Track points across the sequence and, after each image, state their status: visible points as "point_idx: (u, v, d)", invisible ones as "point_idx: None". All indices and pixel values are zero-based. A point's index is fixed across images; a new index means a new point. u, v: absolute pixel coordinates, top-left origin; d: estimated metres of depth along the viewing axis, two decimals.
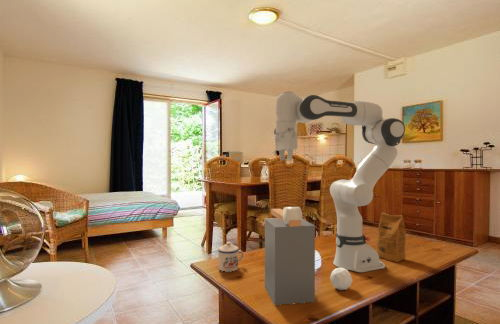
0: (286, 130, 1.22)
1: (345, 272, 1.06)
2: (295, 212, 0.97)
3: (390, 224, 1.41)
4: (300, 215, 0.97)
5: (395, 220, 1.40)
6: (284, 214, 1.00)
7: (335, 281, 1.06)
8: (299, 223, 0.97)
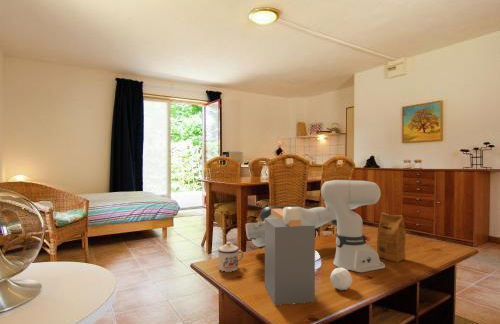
0: None
1: (345, 272, 1.06)
2: (295, 212, 0.97)
3: (390, 224, 1.41)
4: (300, 215, 0.97)
5: (395, 220, 1.40)
6: (284, 214, 1.00)
7: (335, 281, 1.06)
8: (299, 223, 0.97)
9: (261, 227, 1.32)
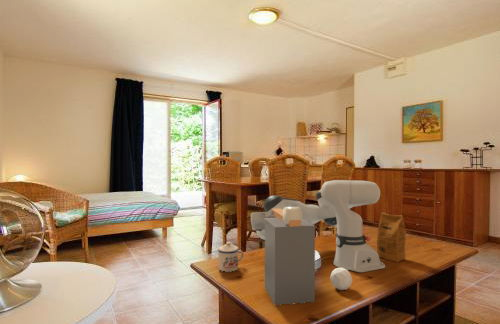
0: None
1: (345, 272, 1.06)
2: (295, 212, 0.97)
3: (390, 224, 1.41)
4: (300, 215, 0.97)
5: (395, 220, 1.40)
6: (284, 214, 1.00)
7: (335, 281, 1.06)
8: (299, 223, 0.97)
9: None
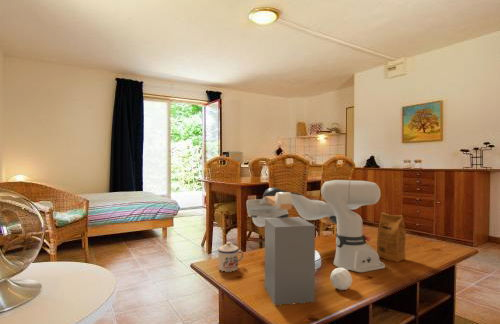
0: None
1: (345, 272, 1.06)
2: (286, 196, 1.06)
3: (390, 224, 1.41)
4: (290, 199, 1.06)
5: (395, 220, 1.40)
6: (276, 199, 1.09)
7: (335, 281, 1.06)
8: (289, 206, 1.06)
9: None
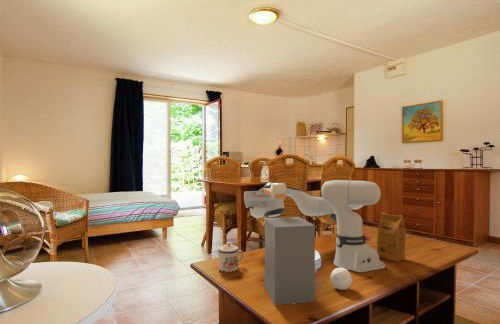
0: None
1: (345, 272, 1.06)
2: (280, 187, 1.13)
3: (390, 224, 1.41)
4: (284, 189, 1.13)
5: (395, 220, 1.40)
6: (271, 189, 1.16)
7: (335, 281, 1.06)
8: (284, 196, 1.13)
9: None
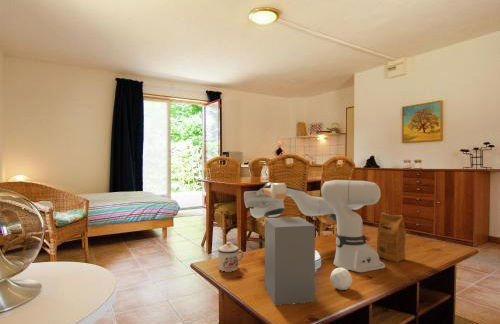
0: None
1: (345, 272, 1.06)
2: (280, 187, 1.13)
3: (390, 224, 1.41)
4: (285, 189, 1.13)
5: (395, 220, 1.40)
6: (271, 189, 1.16)
7: (335, 281, 1.06)
8: (284, 196, 1.13)
9: None
